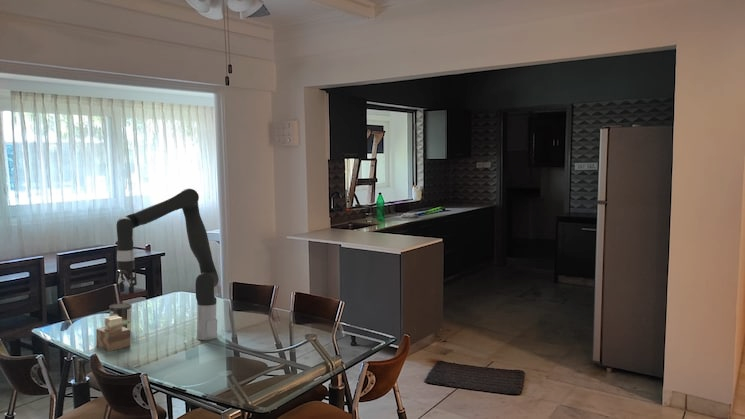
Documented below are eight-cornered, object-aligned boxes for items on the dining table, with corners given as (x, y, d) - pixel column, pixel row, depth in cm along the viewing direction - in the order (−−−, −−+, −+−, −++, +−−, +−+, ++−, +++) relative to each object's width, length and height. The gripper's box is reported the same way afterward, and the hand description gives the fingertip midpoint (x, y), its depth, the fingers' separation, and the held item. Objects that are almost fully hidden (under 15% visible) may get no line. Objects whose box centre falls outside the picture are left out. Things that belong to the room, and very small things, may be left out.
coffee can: (118, 337, 267) (118, 309, 266) (104, 333, 272) (104, 306, 271) (136, 332, 276) (136, 305, 275) (122, 328, 281) (122, 302, 280)
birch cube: (122, 329, 254) (122, 317, 254) (110, 331, 250) (110, 319, 249) (116, 326, 258) (116, 315, 257) (104, 329, 253) (104, 317, 253)
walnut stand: (130, 346, 254) (130, 329, 254) (108, 351, 247) (108, 334, 246) (117, 340, 262) (117, 324, 261) (96, 345, 254) (96, 328, 253)
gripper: (141, 259, 256) (142, 293, 257) (125, 256, 264) (126, 289, 265) (126, 261, 250) (126, 296, 251) (110, 258, 258) (111, 292, 259)
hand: (126, 293), depth 258 cm, fingers open, 8 cm apart
